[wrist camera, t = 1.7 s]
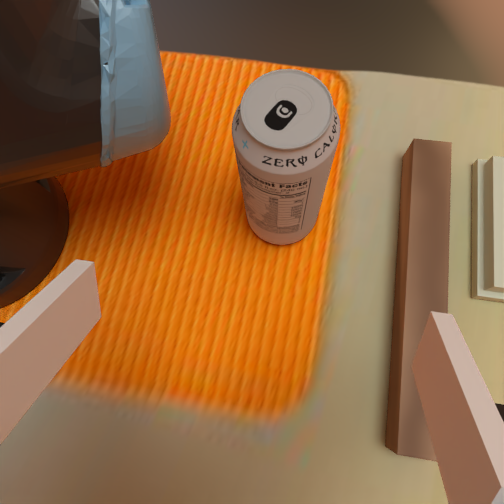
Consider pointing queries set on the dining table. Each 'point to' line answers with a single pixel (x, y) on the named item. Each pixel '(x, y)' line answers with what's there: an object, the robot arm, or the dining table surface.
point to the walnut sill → (418, 286)
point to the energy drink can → (284, 152)
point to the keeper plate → (488, 229)
